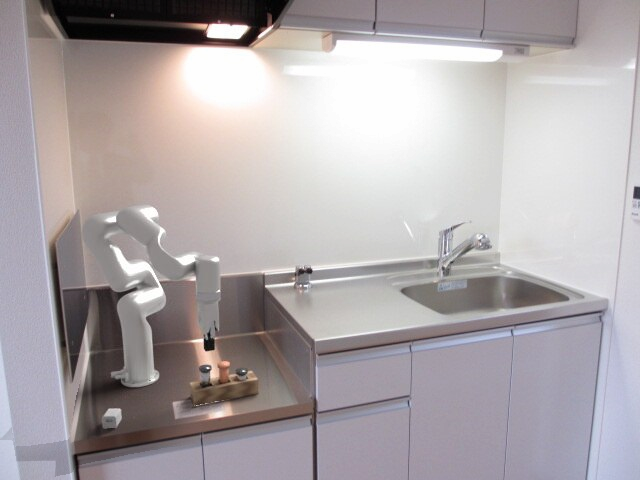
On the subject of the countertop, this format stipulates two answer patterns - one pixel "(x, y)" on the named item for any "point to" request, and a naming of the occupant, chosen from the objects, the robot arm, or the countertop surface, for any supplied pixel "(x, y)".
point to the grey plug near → (205, 375)
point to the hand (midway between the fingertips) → (209, 349)
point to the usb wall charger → (111, 418)
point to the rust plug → (223, 372)
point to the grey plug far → (241, 373)
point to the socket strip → (223, 389)
